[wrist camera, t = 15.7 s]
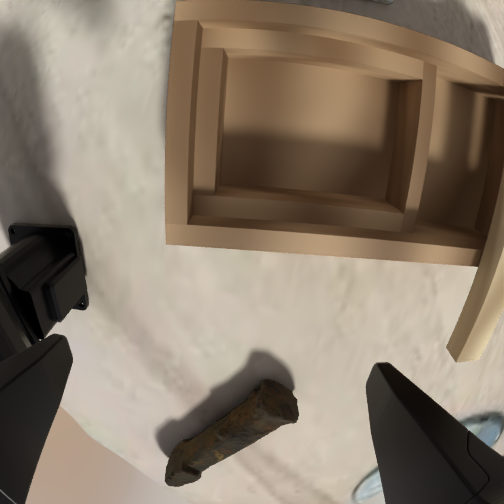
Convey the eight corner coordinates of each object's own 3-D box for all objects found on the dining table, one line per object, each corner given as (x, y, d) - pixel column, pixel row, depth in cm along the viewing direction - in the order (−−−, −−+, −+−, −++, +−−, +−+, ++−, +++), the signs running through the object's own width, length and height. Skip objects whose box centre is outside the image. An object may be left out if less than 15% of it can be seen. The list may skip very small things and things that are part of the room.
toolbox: (187, 211, 19) (166, 244, 14) (196, 28, 15) (176, 1, 10) (474, 238, 19) (514, 269, 15) (498, 91, 15) (547, 94, 10)
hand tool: (264, 369, 24) (264, 414, 20) (299, 390, 25) (304, 433, 21) (149, 446, 30) (141, 479, 26) (179, 461, 31) (172, 493, 27)
